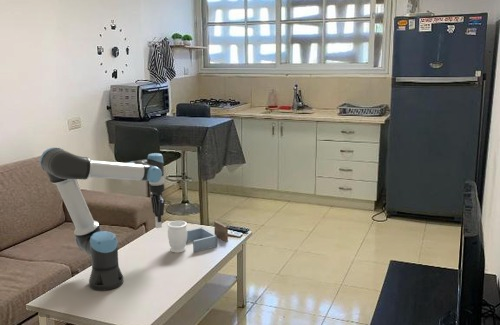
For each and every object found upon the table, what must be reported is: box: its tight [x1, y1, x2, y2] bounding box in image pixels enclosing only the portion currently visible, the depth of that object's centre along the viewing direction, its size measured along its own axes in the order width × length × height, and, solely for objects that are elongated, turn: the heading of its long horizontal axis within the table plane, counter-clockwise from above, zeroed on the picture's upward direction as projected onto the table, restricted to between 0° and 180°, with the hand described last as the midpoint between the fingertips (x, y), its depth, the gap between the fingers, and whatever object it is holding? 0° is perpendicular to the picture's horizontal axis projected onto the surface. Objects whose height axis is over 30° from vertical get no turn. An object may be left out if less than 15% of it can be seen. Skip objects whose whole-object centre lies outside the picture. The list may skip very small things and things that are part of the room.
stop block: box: [213, 220, 229, 243], centre depth 277 cm, size 2×11×9 cm, turn 35°
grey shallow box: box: [187, 226, 218, 253], centre depth 268 cm, size 14×16×6 cm
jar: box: [167, 220, 188, 254], centre depth 260 cm, size 11×10×15 cm
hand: (158, 227), depth 253 cm, fingers closed
